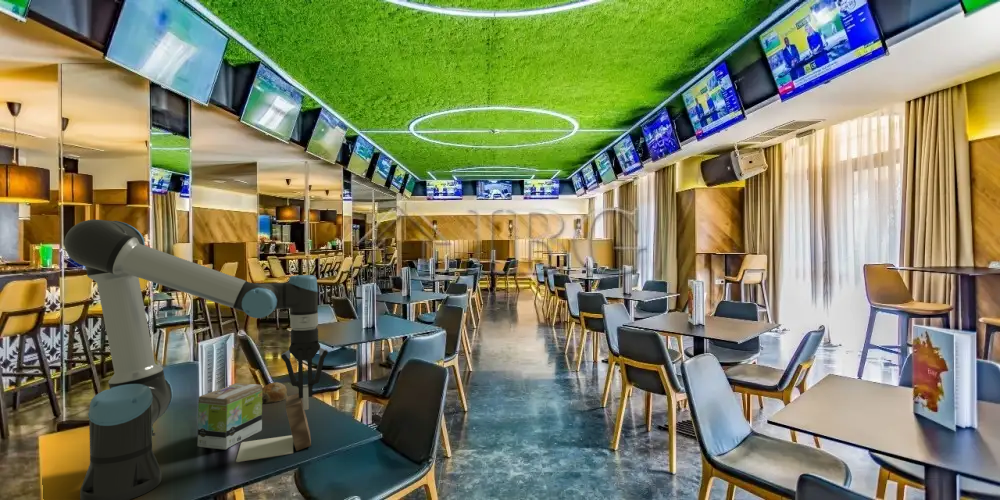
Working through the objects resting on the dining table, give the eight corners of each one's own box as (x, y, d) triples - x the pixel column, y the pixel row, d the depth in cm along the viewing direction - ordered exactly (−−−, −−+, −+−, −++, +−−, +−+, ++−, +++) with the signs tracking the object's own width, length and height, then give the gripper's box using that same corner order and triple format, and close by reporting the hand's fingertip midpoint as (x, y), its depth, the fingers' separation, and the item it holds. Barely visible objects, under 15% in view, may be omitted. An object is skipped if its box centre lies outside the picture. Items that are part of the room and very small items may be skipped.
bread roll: (284, 411, 178) (294, 390, 180) (256, 403, 173) (267, 382, 175) (280, 403, 187) (290, 383, 189) (254, 396, 182) (264, 376, 184)
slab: (295, 451, 135) (285, 407, 134) (295, 438, 144) (285, 397, 143) (311, 445, 137) (300, 402, 136) (310, 433, 146) (300, 392, 145)
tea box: (227, 450, 136) (226, 398, 135) (196, 447, 138) (196, 396, 138) (263, 430, 150) (263, 383, 150) (235, 428, 152) (235, 381, 152)
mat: (235, 462, 128) (235, 460, 128) (241, 443, 140) (241, 442, 140) (293, 453, 134) (293, 452, 134) (293, 436, 146) (293, 434, 146)
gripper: (279, 332, 134) (281, 415, 135) (328, 328, 139) (330, 409, 140) (280, 327, 141) (282, 407, 142) (327, 324, 146) (328, 401, 147)
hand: (305, 408), depth 141 cm, fingers closed
